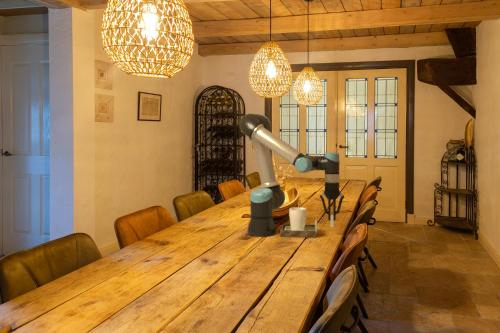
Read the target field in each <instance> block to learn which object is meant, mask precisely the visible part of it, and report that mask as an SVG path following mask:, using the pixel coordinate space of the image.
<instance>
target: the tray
mask: <svg viewBox="0 0 500 333" xmlns="http://www.w3.org/2000/svg"><path fill="white" fill-rule="evenodd" d="M314 225H315V227H308V226H305V227H304V231H316V233H315V237H317V236H318V219H316V218H315V219H314ZM284 230H291V226H285V229H284Z"/></svg>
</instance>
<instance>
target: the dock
mask: <svg viewBox="0 0 500 333" xmlns="http://www.w3.org/2000/svg"><path fill="white" fill-rule="evenodd" d="M285 226H291V224H290V223H282V225H281V228H280V234H279V235H280V237H281V238H305V239H306V238H307V239H308V238H310V239H311V238H313V239H316V236H315V233H316V231H299V230H284V229H285ZM305 226H308V227H315V224H305Z"/></svg>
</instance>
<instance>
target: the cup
mask: <svg viewBox="0 0 500 333" xmlns="http://www.w3.org/2000/svg"><path fill="white" fill-rule="evenodd" d="M288 216H289V222H290V223H289V224H291V230H299V231H304V227H305V225H306V221H307V220H306V219H307V208H306V207H301V206H299V207H298V206H296V207H295V206H294V207H290V208H289V212H288Z"/></svg>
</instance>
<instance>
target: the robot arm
mask: <svg viewBox="0 0 500 333" xmlns="http://www.w3.org/2000/svg"><path fill="white" fill-rule="evenodd" d="M271 126H272V125H271V121H270V119H269V118H268V117H267V116H266V115H264V114H261V113H247V114H244V115H243V116H241V118H240V121H239V129H240V131H241V133H242V134H244V135H245V136H246V137H249V138H248V139H249V141H250V142H251V143H252V144H253V146H252V147H253V150H254V153H255V154H254V155H255V159H256V160H255V162H256V165H257V169H258V175H259V180H260V186H259V188H256V189H252V191H251V192H250V197H249V198H250V218H249V223H248V226H247V232H246V233H247V235H249V236H254V237H270V236H274V235H276V225H275V223H274V219H273V211H274V210H277V209H279V208H281V207H282V206H283V205H284V204H285V200H286V193H285V192H284V190H282V188H281V185H280V183H279V182H278V181H277V178H276V174H275V169H274V168H275V167H274V163H273V159H272V158H273V157H272V153H271V151H272V152H273V153H275V154H276V155H278V156H279V157H281V158H282V159H283V160H285V161H287V162H288V163H289V164H290V165H292V166H294V167H295V169H296V170H297V172H299V173H302V174H304V173H305V174H306V173H308V172H309V173H310V172H313V171H324V191H323V193H322V194H319V198H320V199H321V202H322V206H323V211H324V213H325V214H327V216H328V218H327V220H328V221H329V224H330V228H334V222H335V221H337V220H336V218H337V217H336V216H337V215H338V214H340V212H341V208H342V204H343V200H344V199H345V195H344V194H342V193H341V191H340V161H341V160H340V154H339V152H335V151H334V152H332V151H331V152H330V151H329V152H325V153H324V154H323V155H320V156H318V155H305V154H304V153H303V152H301V151H299V150H298V149H296V148H295V147H293V146H292V145H290V144H289V143H287V142H286V141H284V140H283V139H281V138H280V137H278V136H277V135H276V134H274V133H272V132H271V131H270V130H271ZM325 198H326V199H327V202H328V203H327V204H328V205H327V204H326V202H325V201H326V200H325ZM337 199H339V202H338V206H336V205H337V203H336V201H337ZM332 200H333V201H332ZM332 202H333V203H332ZM331 204H333V206H331ZM326 205H327V206H328V207H327V206H326ZM331 207H332V208H331ZM327 208H328V210H327ZM331 209H332V211H331ZM336 209H337V210H336ZM331 212H332V213H331Z"/></svg>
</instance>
